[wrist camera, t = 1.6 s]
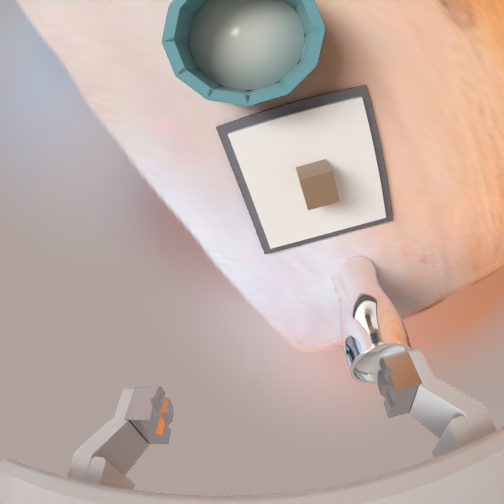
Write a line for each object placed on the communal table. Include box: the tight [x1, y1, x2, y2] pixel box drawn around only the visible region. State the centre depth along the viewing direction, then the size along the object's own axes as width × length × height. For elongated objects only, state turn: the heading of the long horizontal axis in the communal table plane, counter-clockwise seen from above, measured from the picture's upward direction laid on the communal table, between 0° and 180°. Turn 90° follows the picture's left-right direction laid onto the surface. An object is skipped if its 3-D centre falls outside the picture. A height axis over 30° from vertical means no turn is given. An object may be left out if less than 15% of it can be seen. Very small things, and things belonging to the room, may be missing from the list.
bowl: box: [162, 0, 325, 106], centre depth 24 cm, size 13×13×6 cm
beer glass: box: [332, 256, 412, 384], centre depth 34 cm, size 7×7×15 cm
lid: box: [228, 97, 386, 249], centre depth 31 cm, size 14×14×5 cm
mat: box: [216, 85, 393, 254], centre depth 33 cm, size 16×16×1 cm
